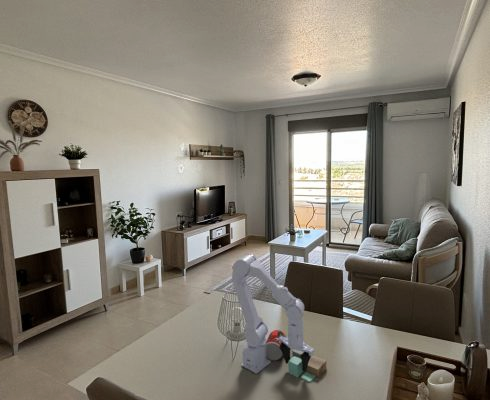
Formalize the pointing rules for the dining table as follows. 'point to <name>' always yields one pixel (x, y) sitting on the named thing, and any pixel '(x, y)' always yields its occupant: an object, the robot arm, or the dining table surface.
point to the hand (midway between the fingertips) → (296, 366)
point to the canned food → (274, 345)
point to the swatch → (308, 376)
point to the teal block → (295, 366)
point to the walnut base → (316, 366)
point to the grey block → (297, 353)
